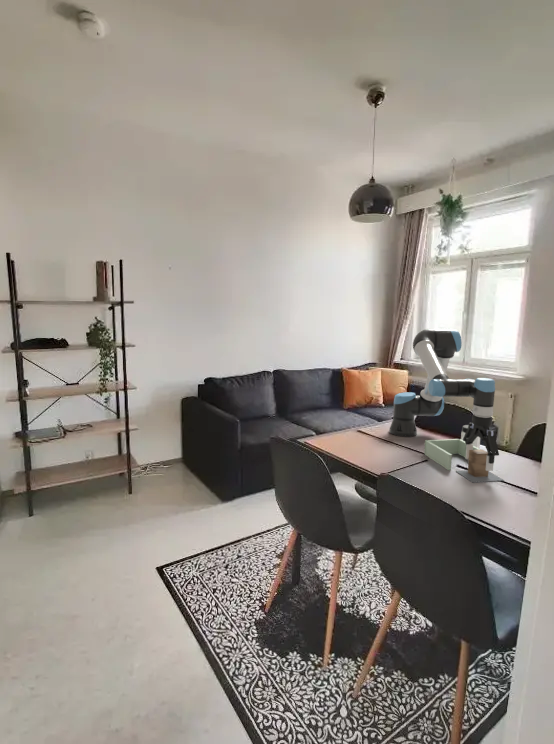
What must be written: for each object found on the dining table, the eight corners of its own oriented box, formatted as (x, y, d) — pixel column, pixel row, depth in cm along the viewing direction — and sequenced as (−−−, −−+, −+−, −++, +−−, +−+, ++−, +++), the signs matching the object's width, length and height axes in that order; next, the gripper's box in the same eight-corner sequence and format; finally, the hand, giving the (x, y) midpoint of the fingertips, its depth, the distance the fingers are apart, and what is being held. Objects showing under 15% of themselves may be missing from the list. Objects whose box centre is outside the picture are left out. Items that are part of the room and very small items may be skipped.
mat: (455, 471, 176) (455, 470, 176) (485, 470, 178) (485, 469, 178) (472, 482, 164) (472, 481, 164) (504, 481, 166) (504, 480, 166)
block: (467, 472, 174) (469, 450, 173) (480, 471, 175) (482, 449, 174) (475, 476, 169) (476, 453, 168) (488, 476, 170) (489, 453, 169)
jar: (456, 448, 208) (458, 425, 207) (469, 446, 211) (471, 424, 209) (469, 453, 200) (471, 430, 198) (482, 452, 202) (484, 428, 201)
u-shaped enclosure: (424, 454, 199) (424, 440, 198) (458, 452, 201) (459, 438, 200) (448, 470, 178) (449, 454, 177) (486, 468, 181) (487, 453, 180)
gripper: (456, 408, 180) (453, 454, 183) (494, 423, 156) (490, 476, 159) (472, 408, 182) (468, 454, 184) (512, 422, 157) (507, 475, 160)
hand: (478, 464), depth 172 cm, fingers open, 13 cm apart
